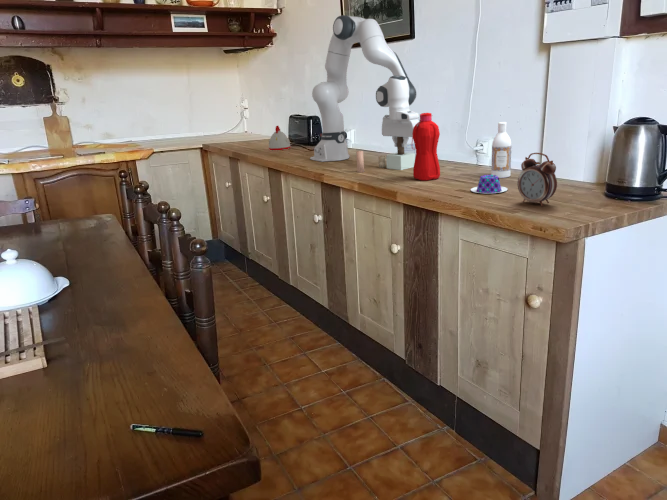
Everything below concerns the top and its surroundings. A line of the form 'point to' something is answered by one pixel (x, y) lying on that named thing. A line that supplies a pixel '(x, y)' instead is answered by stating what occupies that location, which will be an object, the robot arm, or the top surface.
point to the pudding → (489, 185)
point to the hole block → (400, 161)
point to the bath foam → (501, 153)
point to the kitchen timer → (279, 140)
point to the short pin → (381, 161)
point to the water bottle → (426, 148)
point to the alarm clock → (537, 180)
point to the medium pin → (360, 161)
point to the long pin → (400, 146)
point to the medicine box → (410, 149)
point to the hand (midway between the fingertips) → (400, 146)
